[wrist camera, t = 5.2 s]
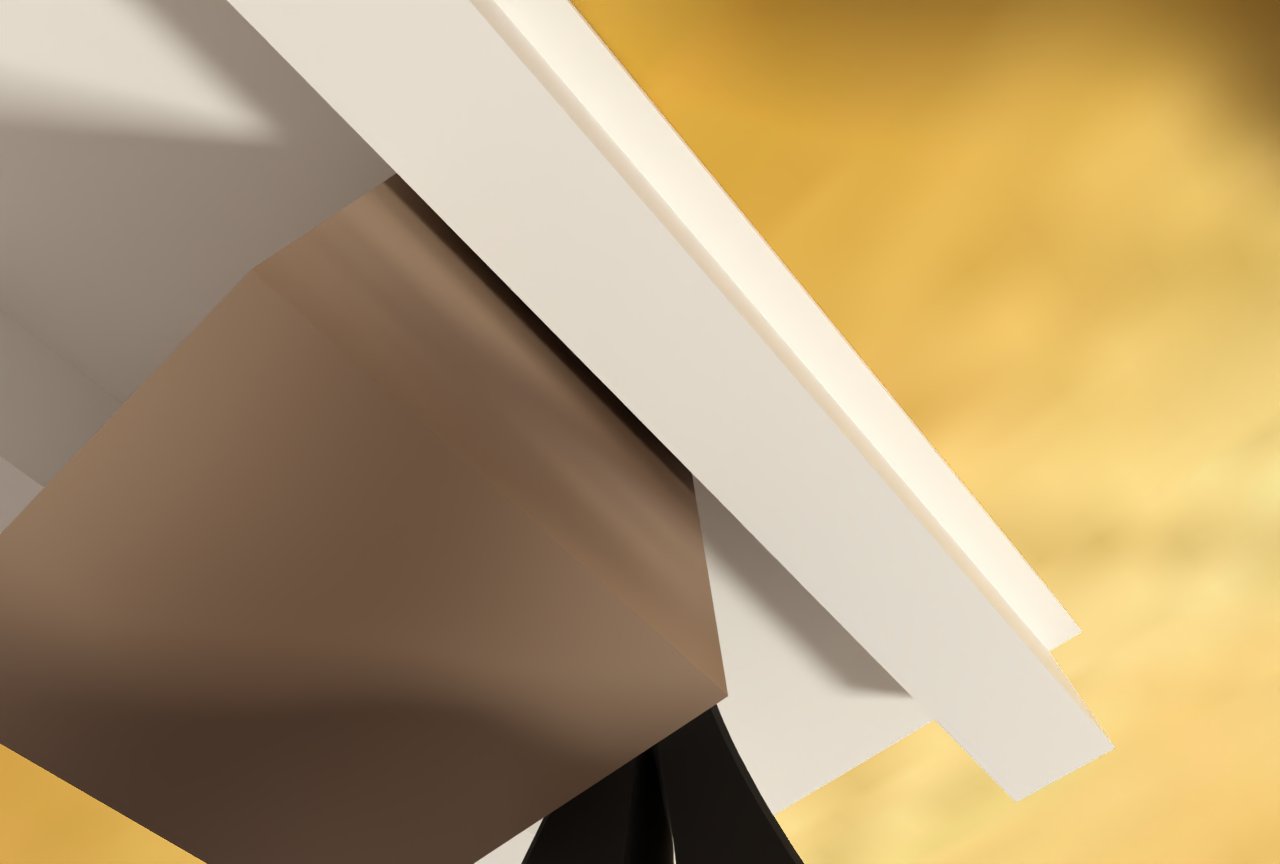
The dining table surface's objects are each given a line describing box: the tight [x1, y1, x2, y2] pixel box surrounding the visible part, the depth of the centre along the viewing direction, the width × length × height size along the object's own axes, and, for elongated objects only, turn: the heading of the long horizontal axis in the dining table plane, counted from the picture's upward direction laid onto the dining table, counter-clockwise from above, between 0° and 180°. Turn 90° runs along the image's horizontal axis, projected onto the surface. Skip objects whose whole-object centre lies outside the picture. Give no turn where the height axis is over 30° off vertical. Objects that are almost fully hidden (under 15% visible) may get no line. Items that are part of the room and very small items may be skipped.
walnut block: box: [0, 173, 728, 864], centre depth 9 cm, size 5×5×5 cm
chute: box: [0, 0, 1115, 864], centre depth 10 cm, size 26×10×3 cm, turn 41°
